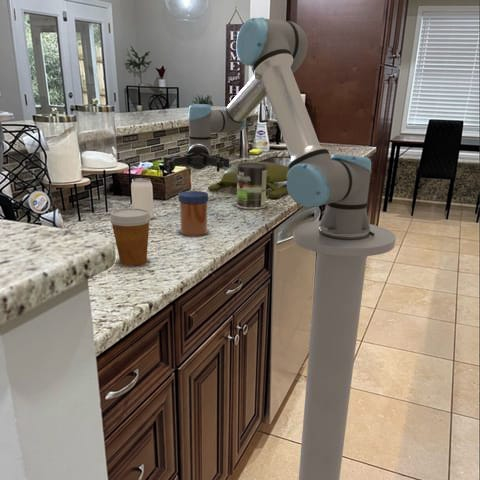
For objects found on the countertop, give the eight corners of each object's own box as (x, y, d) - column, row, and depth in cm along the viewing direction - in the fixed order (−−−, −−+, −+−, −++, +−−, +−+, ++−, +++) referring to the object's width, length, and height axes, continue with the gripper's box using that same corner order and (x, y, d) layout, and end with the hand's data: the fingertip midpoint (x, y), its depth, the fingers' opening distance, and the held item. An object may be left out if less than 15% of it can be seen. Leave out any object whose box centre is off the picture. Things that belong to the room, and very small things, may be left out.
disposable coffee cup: (106, 266, 117) (102, 216, 112) (122, 254, 126) (118, 206, 121) (146, 269, 116) (142, 218, 111) (158, 256, 124) (156, 208, 120)
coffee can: (250, 211, 170) (251, 168, 164) (230, 205, 177) (230, 164, 171) (271, 206, 176) (273, 165, 171) (252, 201, 183) (252, 162, 178)
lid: (208, 197, 145) (208, 191, 144) (207, 204, 138) (207, 197, 137) (180, 197, 145) (179, 190, 144) (177, 203, 137) (177, 196, 137)
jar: (207, 228, 148) (207, 193, 144) (206, 236, 142) (206, 198, 137) (182, 228, 148) (180, 192, 144) (179, 235, 141) (178, 198, 137)
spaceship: (277, 199, 186) (278, 173, 182) (205, 191, 198) (204, 166, 195) (307, 184, 215) (309, 161, 211) (242, 178, 227) (243, 156, 224)
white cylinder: (138, 221, 155) (136, 182, 150) (129, 217, 160) (127, 179, 155) (157, 218, 158) (155, 180, 154) (148, 214, 163) (146, 177, 158)
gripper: (236, 168, 168) (237, 180, 149) (161, 167, 168) (152, 178, 148) (236, 145, 165) (237, 154, 146) (160, 143, 165) (151, 152, 145)
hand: (194, 166), depth 147 cm, fingers open, 13 cm apart
